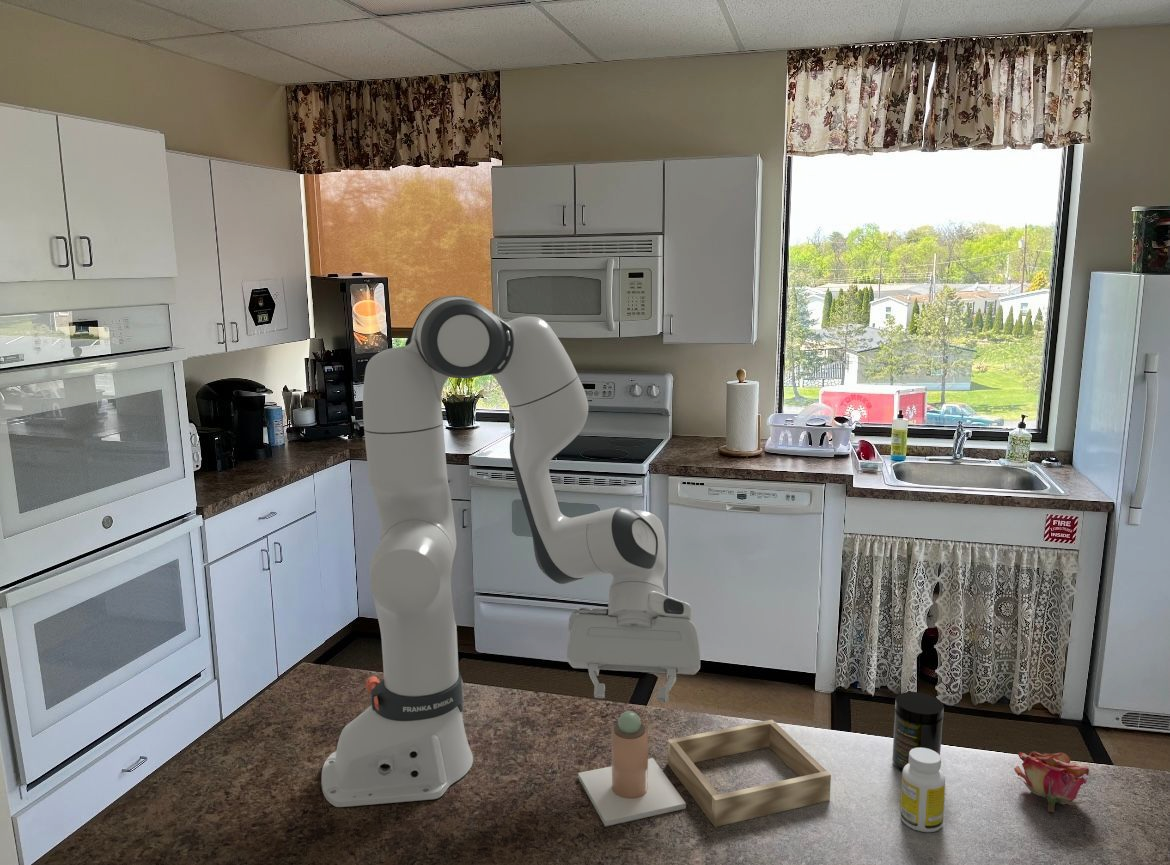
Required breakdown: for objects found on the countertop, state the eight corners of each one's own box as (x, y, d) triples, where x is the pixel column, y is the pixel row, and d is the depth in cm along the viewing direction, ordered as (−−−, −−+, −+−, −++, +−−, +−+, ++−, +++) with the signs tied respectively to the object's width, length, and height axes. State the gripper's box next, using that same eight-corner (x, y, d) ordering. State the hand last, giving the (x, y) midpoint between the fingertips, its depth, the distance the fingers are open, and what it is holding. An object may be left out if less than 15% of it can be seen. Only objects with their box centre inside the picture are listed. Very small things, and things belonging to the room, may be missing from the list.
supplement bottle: (943, 814, 117) (948, 749, 115) (941, 838, 112) (946, 770, 111) (901, 804, 119) (905, 741, 118) (898, 827, 115) (902, 761, 113)
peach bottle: (619, 801, 120) (618, 724, 117) (607, 781, 125) (605, 706, 122) (653, 794, 121) (653, 718, 119) (640, 774, 126) (639, 700, 124)
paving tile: (605, 826, 116) (605, 821, 115) (578, 777, 127) (578, 772, 127) (685, 808, 119) (685, 803, 119) (652, 762, 130) (652, 757, 130)
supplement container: (936, 784, 124) (940, 718, 122) (887, 771, 127) (891, 707, 125) (942, 761, 130) (946, 698, 128) (896, 749, 133) (899, 688, 131)
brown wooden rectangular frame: (715, 827, 115) (715, 800, 114) (667, 763, 130) (667, 739, 129) (829, 800, 121) (830, 774, 120) (771, 742, 136) (772, 719, 135)
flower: (1100, 822, 112) (1103, 760, 115) (1027, 802, 114) (1032, 741, 117) (1066, 821, 121) (1069, 763, 124) (999, 802, 123) (1004, 745, 126)
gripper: (568, 599, 132) (558, 687, 124) (701, 605, 129) (700, 696, 122) (572, 615, 137) (563, 701, 129) (700, 621, 134) (699, 709, 127)
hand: (630, 699), depth 125 cm, fingers open, 8 cm apart
